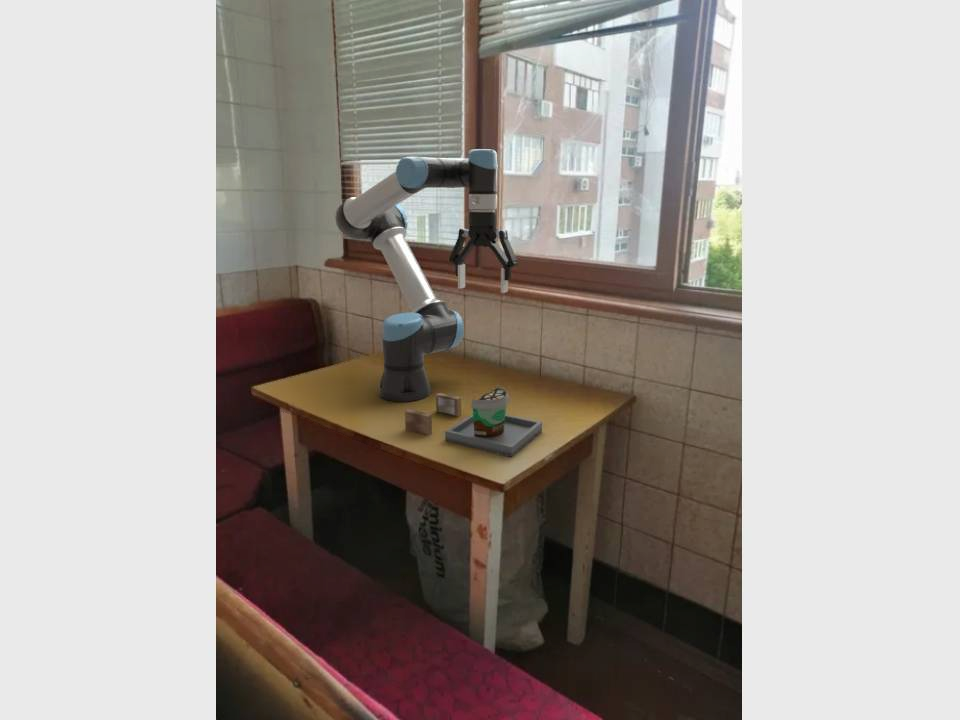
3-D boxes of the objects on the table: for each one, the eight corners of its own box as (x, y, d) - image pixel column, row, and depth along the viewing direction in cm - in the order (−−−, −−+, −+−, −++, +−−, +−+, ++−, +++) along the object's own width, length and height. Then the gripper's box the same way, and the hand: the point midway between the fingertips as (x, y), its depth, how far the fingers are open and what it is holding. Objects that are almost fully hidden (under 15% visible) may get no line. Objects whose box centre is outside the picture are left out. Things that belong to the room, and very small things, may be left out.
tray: (445, 440, 143) (445, 431, 142) (480, 417, 157) (480, 409, 156) (511, 457, 134) (511, 447, 134) (541, 431, 148) (542, 422, 148)
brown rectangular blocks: (405, 429, 149) (404, 411, 148) (439, 410, 162) (439, 392, 161) (428, 435, 146) (427, 416, 145) (461, 414, 159) (461, 397, 158)
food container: (493, 444, 139) (493, 404, 136) (471, 438, 142) (471, 399, 139) (517, 426, 149) (518, 389, 146) (496, 421, 152) (496, 385, 149)
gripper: (435, 210, 159) (437, 288, 165) (518, 212, 147) (517, 296, 153) (450, 209, 165) (451, 284, 172) (531, 211, 154) (529, 292, 160)
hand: (482, 290), depth 162 cm, fingers open, 13 cm apart
